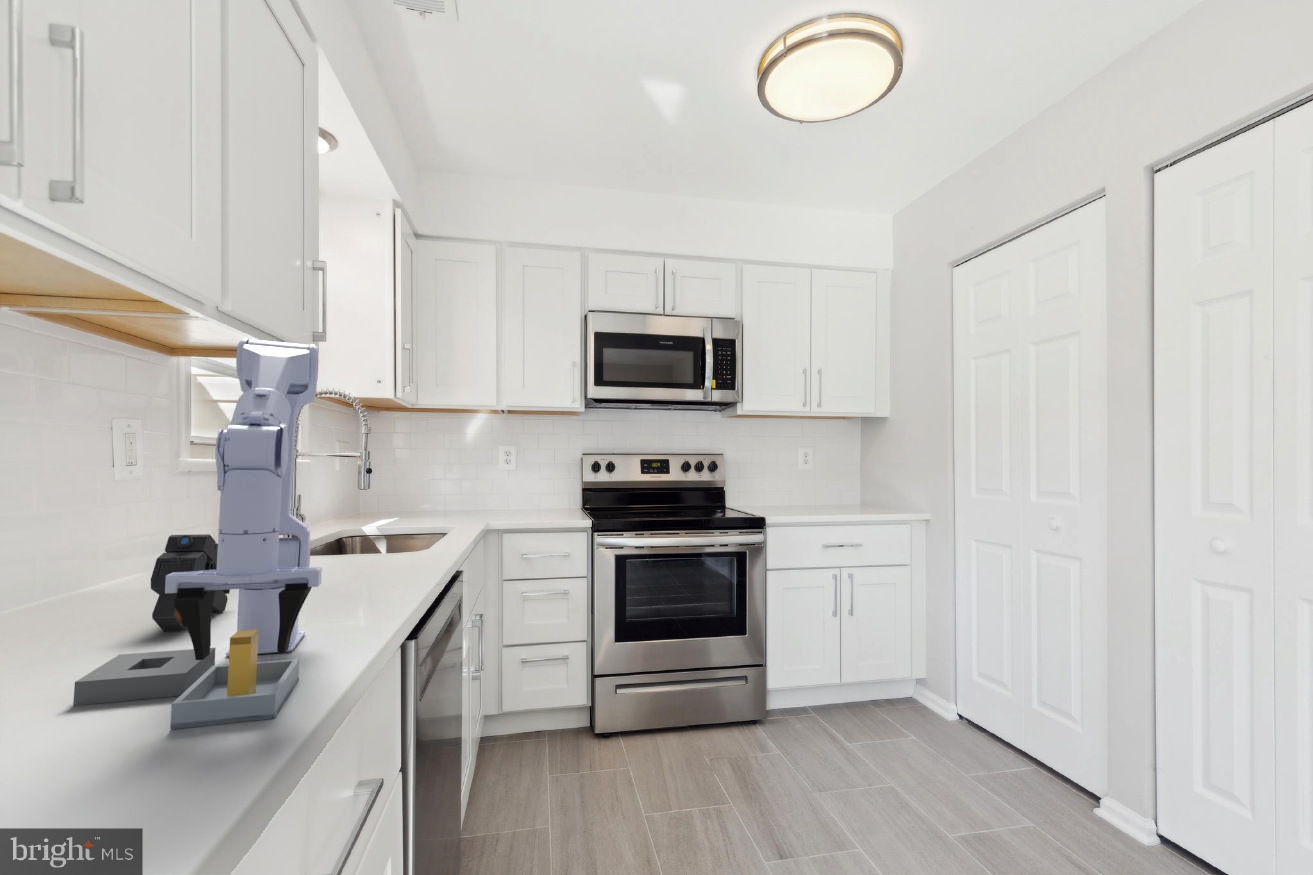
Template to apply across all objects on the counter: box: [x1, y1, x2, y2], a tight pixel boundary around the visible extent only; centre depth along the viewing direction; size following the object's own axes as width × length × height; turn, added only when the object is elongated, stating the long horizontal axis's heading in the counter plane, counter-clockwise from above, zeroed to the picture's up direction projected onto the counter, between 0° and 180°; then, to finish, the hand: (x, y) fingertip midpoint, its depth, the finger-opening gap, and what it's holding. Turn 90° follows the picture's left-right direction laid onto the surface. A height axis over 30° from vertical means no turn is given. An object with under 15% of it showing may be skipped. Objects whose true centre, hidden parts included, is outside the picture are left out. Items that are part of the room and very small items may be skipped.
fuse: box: [227, 629, 259, 697], centre depth 68 cm, size 3×2×7 cm, turn 20°
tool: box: [150, 533, 231, 632], centre depth 102 cm, size 6×19×15 cm
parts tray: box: [169, 658, 300, 730], centre depth 68 cm, size 12×9×2 cm
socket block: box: [72, 647, 216, 707], centre depth 72 cm, size 10×10×2 cm
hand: (243, 654), depth 68 cm, fingers open, 7 cm apart
